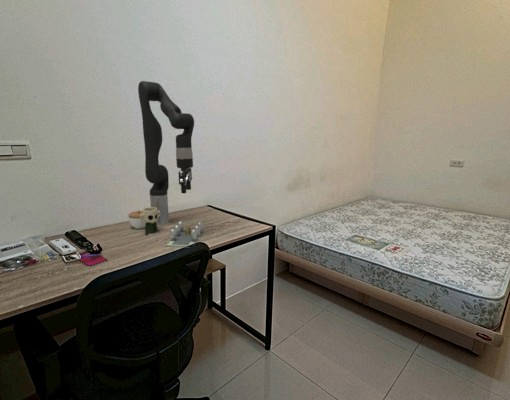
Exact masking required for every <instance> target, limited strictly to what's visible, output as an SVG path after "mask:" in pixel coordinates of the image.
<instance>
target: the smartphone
mask: <svg viewBox="0 0 510 400" xmlns="http://www.w3.org/2000/svg"><path fill="white" fill-rule="evenodd" d="M87 251H88V250H86V251H84V252H80V253H78V254H80V255H81V259H80V260H79V261H78V262H80V263H81V262H82V264H83V263H84V264H83V265H85V266H86V265H87V266H86V267H88V266H90V267H93V266H96V265H99V264H102V263H105V262H107V261H108V259H107V257H104V256H102V255H101V254H99V253H97V254H90V253H88V252H87ZM104 261H105V262H104ZM101 262H102V263H101ZM98 263H99V264H98ZM95 264H96V265H95ZM92 265H93V266H92Z"/></svg>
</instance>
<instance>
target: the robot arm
mask: <svg viewBox="0 0 510 400" xmlns="http://www.w3.org/2000/svg"><path fill="white" fill-rule="evenodd" d="M137 88H138V89H137V90H138V91H137V92H138V99H139V105H140V109H141V111H140V112H141V117H142V131H143V143H144V155H145V156H144V157H145V163H144V164H145V169H144V171H145V178H146V180H147V181H148V182H149V183H150V184H152V186H151V188H150V189H149V203H150V207H155V208H157V210H158V211H160V217H158V220H157V221H156V223H157V226H163V225H167V224H170V217H169V200H168V190H169V171H168V169H167V166H165V165H163V164H160V163H159V162H160V161H159V156H160V155H159V154H160V151H161V147H162V145H163V130H162V126H161V123H160V122H159V121H158V118H157V117H156V116H155V115H154V113H153V111H152V108H151V104H150V102H158V103H159V104H160V106H159V107H160V110H161V112H162V113H163V114H164V115H165V116H166V117H167V119H168V121H169V124H170V125H171V127H172V128H173V129H175V130H176V129H177V130H183V131H182V133H180V134H177V135H176V136H175V157H176V160H175V161H176V168H178V169H180V171H178V184H179V185H180V191H181V194H187V191H189V190H192V184H191V182H192V180H193V173H192V168H193V167H194V161H193V160H194V158H193V148H192V147H193V146H192V136H193V132H194V131H193V130H194V129H195V128H194V127H195V119H194V116H193V115H192V114H190V113H182V110H181V108H180V107H179V106H178V105H177V104H175V102H174V101H173V100H171V99H172V98H170V97H169V95H168V94H167V92H166V91H165V89H164V87H163V86H162V85H161V84H160V83H158V82H154V81H147V80H141V81H140V82H139V83H138V86H137Z"/></svg>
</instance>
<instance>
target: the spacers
mask: <svg viewBox="0 0 510 400" xmlns="http://www.w3.org/2000/svg"><path fill="white" fill-rule="evenodd" d="M196 223H197V224H194V227H193V229H192V230H191V241H192V242H195V243H196V242H198V239H197V237H199V238H200V237H201V235H200V233H202V234H203V233H204V231H203V230H204V229H203V227H204V225H203V224H204V223H203V221H200V220H199V221H197V222H196ZM184 229H185V228H184V221H183V220H179V221H177V223H176V224H174V226H173V228H170V229H169V234H170V237H169V238H170V241H176V237H179V236H180V233H182V232H184Z"/></svg>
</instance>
